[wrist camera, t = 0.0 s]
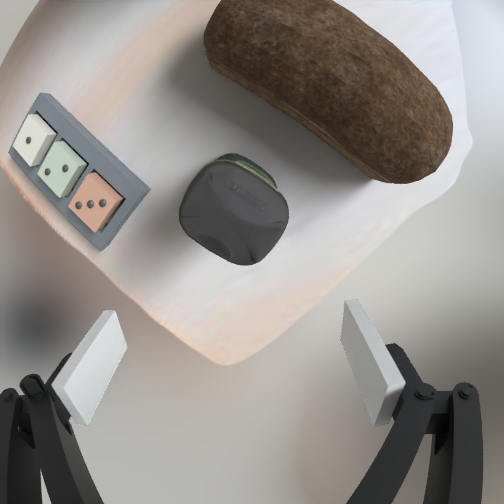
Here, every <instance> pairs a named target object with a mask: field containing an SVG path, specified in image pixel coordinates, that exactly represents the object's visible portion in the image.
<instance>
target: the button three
mask: <svg viewBox="0 0 504 504" xmlns="http://www.w3.org/2000/svg"><path fill="white" fill-rule="evenodd" d="M122 199H123V198H122V197H121V196H120V195H119V194H118V193H117V192H116V191H115V190H114V189H113V188H112V187H111V186H110V185H109V184H108V183H107V182H106V181H105V180H104V179H103V178H101V177H100V176H99V175H98V174H97V173H96V172H94V173H91V174H87V176H86V177H85V179H84V181H83V182H82V184H81V185H80V187H79V189H78V190H77V192H76V194H75V195H74V197H73V199H72V200H71V202H70V204H69V205H68V207H69V208H70V209H71V210H72V211H73V212H74V213H75V214H76V215H77V216H78V217H79V218H80V219H81V220H82V221H83V222H84V223H85V224H86V225H87V226H88V227H89V228H90V229H91V230H92V231H93V232H94V233H96V232H97V231H99V230H100V229H102V228H103V226H104V225H105V223H106V222H107V221H108V219H109V218H110V216H111V215H112V213H113V212H114V210H115V209H116V208H117V206H118V205H119V204H120V202H121V201H122Z"/></svg>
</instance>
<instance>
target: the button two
mask: <svg viewBox="0 0 504 504" xmlns="http://www.w3.org/2000/svg"><path fill="white" fill-rule="evenodd" d="M86 165H87V163H85V162H84V161H83V160H82V159H81V158H80V157H79V156H78V155H77V154H76V153H75V152H74V151H73V150H72V149H71V148H70V147H69V146H68V145H67V144H66V143H65V141H58V142H54V144H53V146H52V147H51V149H50V151H49V153H48V155H47V156H46V158H45V160H44V162H43V164H42V166H41V168H40V170H39V171H38V173H37V174H38V175H39V176H40V178H41V179H42V180H43V181H44V182H45V183H46V184H47V185H48V186H49V187H50V188H51V190H52V191H53V192H54V193H55V194H56V195H57V196H58V197H59V198H61V197H64V196H67V195H69V193H70V191H71V189H72V188H73V186H74V184H75V183H76V181H77V180H78V178H79V176H80V175H81V173H82V172H83V170H84V168H85V167H86Z"/></svg>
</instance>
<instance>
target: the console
mask: <svg viewBox="0 0 504 504" xmlns="http://www.w3.org/2000/svg"><path fill="white" fill-rule="evenodd" d="M29 114H38V115H39V116H40V117H41V118H43V117H44V119H45V120H46V121H47V122H48V123H49V124H50V125H51V126H52V127H53V128H54V129H55V130H56V131H57V132H58V135H57V136H56V138H55V140H54V142H58V141H65V143H66V144H68V143H69V144H70V145H71V146H72V147H73V148H74V149H75V150H76V151H77V152H78V153H79V154H80V155H81V156H82V157H83V158H84V159H85V160H86V161H87V162H88V163H89V165H88V167H87V168H86V170H85V171H84V173H83V175H82V176H81V178H80V179H79V181H78V183H77V184H76V186H75V188H74V189H73V191H72V190H71V191H70V193H69V195H67V196H64V197H61V198H59V197H58V196H57V195H56V194H55V193H54V192H53V191H52V190H51V188H50V187H49V186H48V185H47V184H46V183H45V182H44V181H43V180H42V179H41V178H40V176H39V175H38V174H37V173H38V171H39V170H40V168H41V166H42V164H43V162H44V160H45V158H46V156H47V155H48V153H49V151H50V149H51V147H52V146H53V144H54V142H53V143H52V145H51V147H50V148H49V150H48V152H47V154H46V156H45V158H44V159H43V160H42V161H41V163H40V165H36V166H31V167H30V166H29V165H28V163H27V162H26V161H25V160H24V159H23V158H22V156H21V155H20V154H19V153H18V152H17V150H16V149H15V148H14V147H13V144H14V142H15V140H16V138H17V135H18V133H19V132H20V130H21V128H22V126H23V124H24V122H25V120H26V118H27V116H28V115H29ZM27 116H26V117H25V119H24V121H23V123H22V125H21V127H20V129H19V131H18V133H17V135H16V137H15V139H14V141H13V143H12V145H11V147H10V150H9V152H8V153H9V154H10V155H11V157H12V158H13V159H14V160H15V161H16V163H17V164H18V165H19V166H20V167H21V169H22V170H23V171H24V172H25V173H26V174H27V176H28V177H29V178H30V179H31V180H32V181H33V182H34V184H35V185H36V186H37V187H38V188H39V189H40V190H41V191H42V193H43V194H44V195H45V196H46V197H47V198H48V199H49V200H50V201H51V202H52V203H53V204H54V206H55V207H56V208H57V209H58V210H59V211H60V212H61V213H62V214H63V215H64V216H65V217H66V218H67V219H68V220H69V221H70V222H71V223H72V224H73V225H74V226H75V227H76V228H77V229H78V230H79V231H80V232H81V233H82V234H83V235H84V236H85V237H86V238H87V239H88V240H89V241H90V242H91V243H92V244H93V245H94V246H95V247H96V248H97V249H98V250H100V251H102V250H103V249H104V248H106V247H107V246H108V245H109V244H110V243H111V241H112V240H113V238H114V237H115V235H116V234H117V233H118V231H119V230H120V229H121V227H122V226H123V224H124V223H125V222H126V220H127V219H128V218H129V216H130V215H131V214H132V212H133V211H134V210H135V209H136V207H137V206H138V205H139V203H140V202H141V201H142V200H143V198H144V197H145V196H146V194H147V193H148V192H149V191H150V188H149V187H148V186H147V185H146V184H145V183H143V182H142V181H141V180H140V179H139V178H138V177H137V176H136V175H135V174H134V173H133V172H132V171H131V170H129V169H128V168H127V167H126V166H125V165H124V164H123V163H122V162H121V161H120V160H119V159H118V158H117V157H116V156H114V155H113V154H112V153H111V152H110V151H109V150H108V149H107V148H106V147H105V146H104V145H103V144H102V143H101V142H100V141H99V140H98V139H96V138H95V137H94V136H93V135H92V134H91V133H90V132H89V131H88V130H87V129H86V128H85V127H84V126H83V125H82V124H81V123H80V122H79V121H78V120H77V119H76V118H74V117H73V116H72V115H71V114H70V113H69V112H68V111H67V110H66V109H65V108H64V107H63V106H62V105H61V104H60V103H59V102H58V101H57V100H56V99H55V98H54V97H53V96H52V95H51V94H47V93H39V95H38V97H37V98H36V100H35V102H34V103H33V105H32V107H31V108H30V110H29V112H28V114H27ZM94 172H96V173H97V174H98V173H99V174H100V175H101V176H102V177H103V178H104V179H105V180H107V181H108V182H109V183H110V184H111V185H112V186H113V187H114V188H115V189H116V190H117V191H118V192H119V193H120V194H121V195H122V196H123V197H124V198H126V200H125V201H124V202H123V204H122V205H121V207H120V208H119V209H118V211H117V212H116V213H115V215H114V216H113V218H112V219H111V221H110V222H109V223H108V225H106V224H105V225H104V226H103V228H102V229H100V230H99V231H97V232H96V233H94V232H93V231H92V230H91V229H90V228H89V227H88V226H87V225H86V224H85V223H84V222H83V221H82V220H81V219H80V218H79V217H78V216H77V215H76V214H75V213H74V212H73V211H72V210H71V209H70V208H69V207H68V205H69V204H70V202H71V200H72V199H73V197H74V195H75V194H76V192H77V190H78V189H79V187H80V185H81V184H82V182H83V181H84V179H85V177H86V176H87V174H91V173H94Z"/></svg>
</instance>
